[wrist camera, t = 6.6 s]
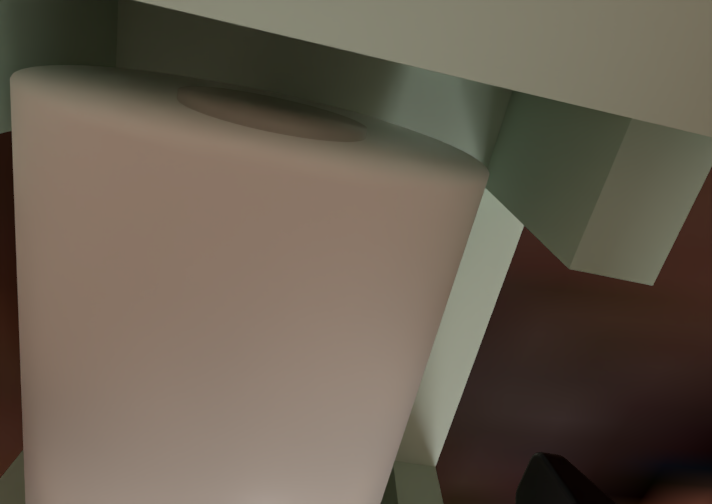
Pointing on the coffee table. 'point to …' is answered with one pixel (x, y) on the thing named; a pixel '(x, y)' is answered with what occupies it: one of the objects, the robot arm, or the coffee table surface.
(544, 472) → the robot arm
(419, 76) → the cradle
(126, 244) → the cylinder
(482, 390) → the coffee table surface
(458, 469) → the coffee table surface
